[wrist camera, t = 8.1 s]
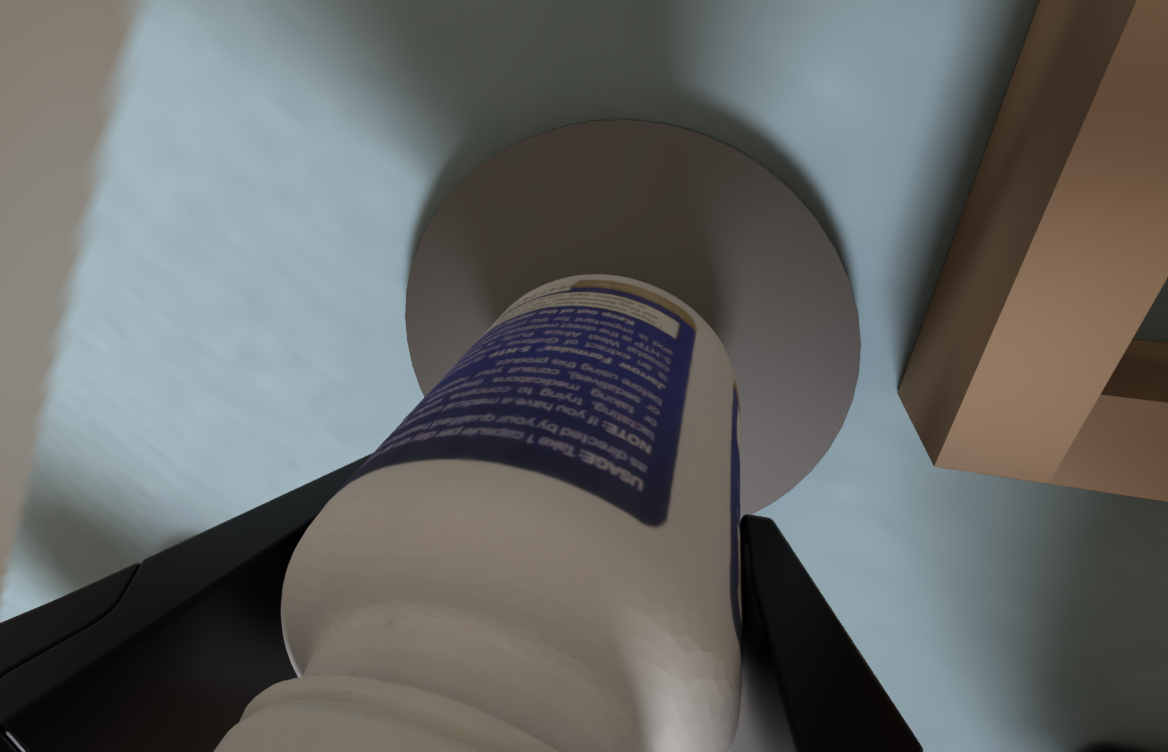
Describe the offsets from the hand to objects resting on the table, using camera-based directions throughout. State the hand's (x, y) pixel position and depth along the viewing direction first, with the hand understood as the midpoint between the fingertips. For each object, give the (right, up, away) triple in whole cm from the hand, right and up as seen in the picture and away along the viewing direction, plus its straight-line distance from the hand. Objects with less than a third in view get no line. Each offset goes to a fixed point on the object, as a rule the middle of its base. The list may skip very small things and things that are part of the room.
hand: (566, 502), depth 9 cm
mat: (+1, +2, +4) cm, 5 cm away
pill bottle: (+1, +2, +3) cm, 4 cm away
